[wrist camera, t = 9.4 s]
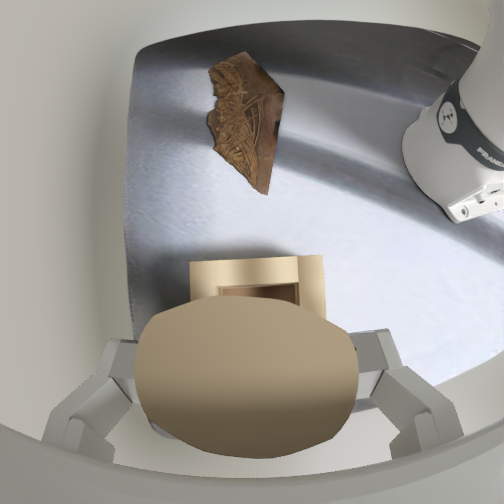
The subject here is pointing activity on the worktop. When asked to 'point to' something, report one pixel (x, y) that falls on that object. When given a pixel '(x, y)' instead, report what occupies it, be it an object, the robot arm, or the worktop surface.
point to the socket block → (263, 280)
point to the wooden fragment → (246, 117)
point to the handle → (246, 376)
